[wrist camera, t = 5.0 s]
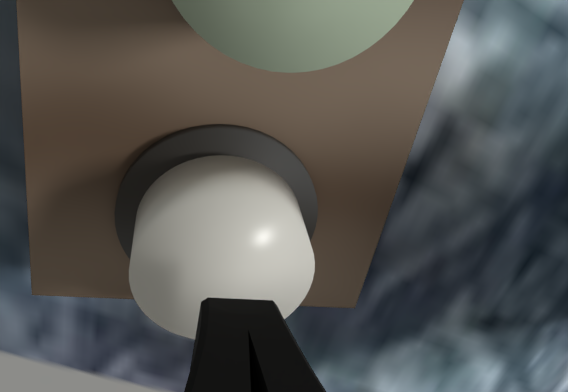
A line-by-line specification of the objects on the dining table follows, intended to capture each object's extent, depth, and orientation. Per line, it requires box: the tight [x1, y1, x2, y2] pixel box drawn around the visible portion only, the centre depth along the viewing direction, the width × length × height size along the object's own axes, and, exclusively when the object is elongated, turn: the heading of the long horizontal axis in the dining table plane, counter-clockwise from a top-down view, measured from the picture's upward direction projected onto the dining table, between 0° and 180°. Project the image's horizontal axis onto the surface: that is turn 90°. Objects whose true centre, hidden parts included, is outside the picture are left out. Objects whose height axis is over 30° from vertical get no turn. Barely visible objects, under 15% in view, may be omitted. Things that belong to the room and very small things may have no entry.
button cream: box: [129, 155, 315, 339], centre depth 13 cm, size 4×4×2 cm
